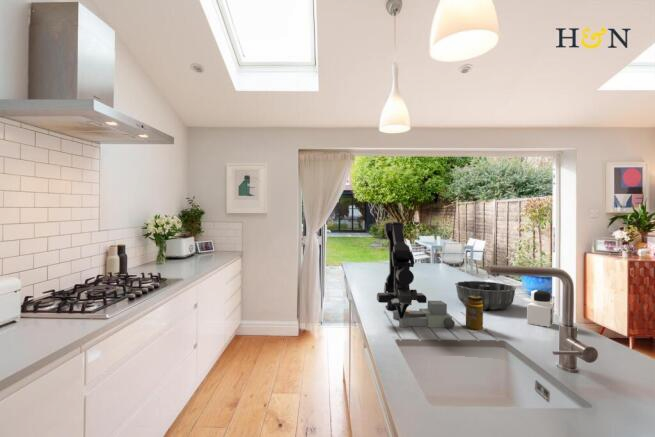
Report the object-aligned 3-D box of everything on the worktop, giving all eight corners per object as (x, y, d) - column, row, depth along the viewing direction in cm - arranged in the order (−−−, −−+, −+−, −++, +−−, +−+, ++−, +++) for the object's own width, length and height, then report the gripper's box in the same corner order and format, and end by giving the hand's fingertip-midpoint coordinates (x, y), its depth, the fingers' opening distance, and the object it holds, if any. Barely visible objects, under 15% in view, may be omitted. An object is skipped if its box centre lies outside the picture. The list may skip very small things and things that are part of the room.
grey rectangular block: (403, 320, 139) (403, 310, 139) (420, 320, 140) (420, 309, 140) (407, 324, 135) (407, 313, 135) (424, 323, 135) (424, 313, 135)
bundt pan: (447, 299, 179) (448, 279, 179) (499, 300, 178) (499, 280, 178) (466, 312, 153) (466, 290, 153) (527, 314, 152) (527, 291, 152)
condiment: (487, 329, 130) (488, 297, 130) (474, 333, 125) (474, 300, 125) (470, 324, 136) (470, 293, 136) (457, 327, 132) (457, 296, 132)
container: (553, 323, 138) (554, 291, 138) (549, 328, 132) (549, 294, 132) (531, 319, 143) (532, 288, 143) (526, 323, 137) (527, 290, 137)
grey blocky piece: (391, 316, 145) (392, 297, 145) (440, 317, 145) (440, 298, 145) (400, 328, 130) (400, 307, 130) (454, 328, 130) (454, 307, 130)
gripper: (381, 283, 129) (381, 325, 129) (431, 284, 129) (430, 325, 129) (376, 278, 140) (376, 317, 140) (422, 278, 140) (422, 317, 140)
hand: (400, 319), depth 137 cm, fingers closed
